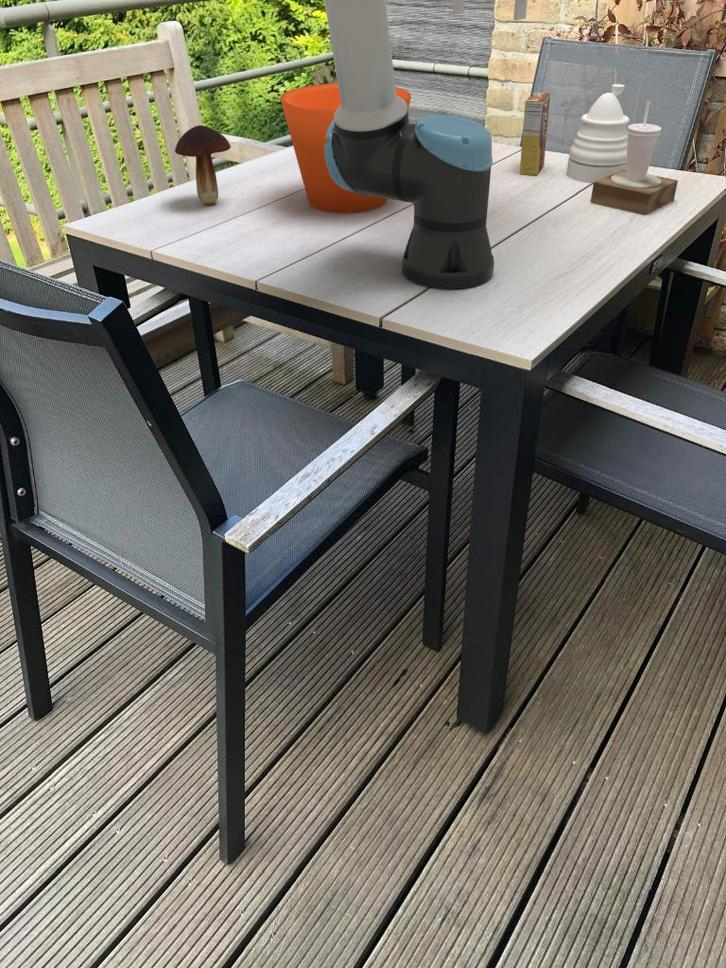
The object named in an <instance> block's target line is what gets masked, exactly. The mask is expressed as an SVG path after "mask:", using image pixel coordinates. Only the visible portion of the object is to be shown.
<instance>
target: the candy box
mask: <svg viewBox="0 0 726 968" xmlns="http://www.w3.org/2000/svg"><path fill="white" fill-rule="evenodd" d="M550 100H551V92H550V93H549V92H548V93H547V92H532V93H531V95H529V97H528V98H527V99H526V100H525V102H524V112H523V124H522V125H523V127H522V139H521V151H520V165H519V175H523V176H532V177H533V176H535V177H537V176H538V175H539V173H540V172H541V170H542V168H544V166H545V159H546V158H545V155H546V146H547V135H548V125H549V123H548V122H549V115H550V114H549V110H550Z"/></svg>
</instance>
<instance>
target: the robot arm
mask: <svg viewBox="0 0 726 968" xmlns="http://www.w3.org/2000/svg"><path fill="white" fill-rule="evenodd" d="M323 2H324V3H323V4H324V7H325V14H326V18H327V21H326V22H327V26H328V27H327V28H328V32H329V38H330V39H329V40H330V44H331V50H332V57H333V63H334V69H335V75H336V81H337V82H336V83H338V88H339V94H340V100H341V105H340V106H339V107H338V109H337V110H336V112H335V113H334V120H333V122H332V123H331V124H330V126H329V128H328V130H327V134H326V140H327V144H325V147H324V152H325V161H326V165H327V169H328V171H329V174H330V176H331V177H332V179H333V180H334V182H335V183H336V184H337V185H338V186H339V187H341V188H343V189H345V190H347V191H351V192H354V193H357V194H360V195H363V196H369V195H370V196H376V197H381V198H387V199H388V200H392V201H398V202H403V203H410V204H413V225H412V229H411V232H410V233H409V234H410V235H409V238H408V240H407V243H406V246H405V249H404V252H403V255H402V259H401V260H402V261H401V272H402V275H403V276H404V277H405V278H406V279H407V280H408V281H410V282H412V283H414V284H417V285H419V286H424V287H427V288H433V289H434V288H435V289H443V290H444V289H447V290H451V289H454V290H455V289H456V290H458V289H465V288H472V287H475V286H479V285H481V284H485V283H486V282H488V281H489V280H490V279H492V277H493V275H494V268H495V267H494V265H495V258H494V255H493V253H492V246H491V242H490V238H489V233H488V228H487V217H488V206H489V195H490V185H491V184H490V183H491V173H492V166H493V146H492V145H493V144H492V143H493V141H492V136H491V132H489V130H488V129H487V128H486V127H485V126H484V125H483V124H481V123H479V122H477V121H475V120H473V119H469V118H466V117H462V116H459V115H453V114H452V115H451V114H448V115H444V114H440V113H439V114H437V113H436V114H428V115H424V116H422V117H420V118H419V119H417V121H416V123H413V122H412V123H411V122H410V119H409V108H408V107H407V103H406V102H405V101H404V100H403V99H402V98H400V97H399V96H398V95H396V88H395V87H396V81H395V73H394V72H395V71H394V65H393V64H394V62H393V55H392V44H391V37H390V27H389V19H388V11H387V9H388V8H387V1H386V0H323ZM465 5H466V0H452V11H451V14H453V15H458V14H463V13H465V8H466V6H465ZM527 9H528V0H514V10H513V11H514V12H513V20H514V21H519V20H524V19H527Z"/></svg>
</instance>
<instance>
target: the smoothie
mask: <svg viewBox="0 0 726 968" xmlns="http://www.w3.org/2000/svg"><path fill="white" fill-rule="evenodd" d="M650 104H651V101H647V102H646V106H645V111H644V117H643V123H632V124H629V125H628V126H627V127H626V130H627V134H628V144H627V163H626V179H627V180H629V181H634V182H641V181H644V180H645V178H646V175H647V174H648V171H649V167H650V165H651V161H652V158H653V154H654V152H655V149H656V145H657V143H658V139H659V136H660V135H661V134H662V127H661V126H659V125H655V124H652V123H647V121H648V115H649V110H650Z"/></svg>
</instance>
